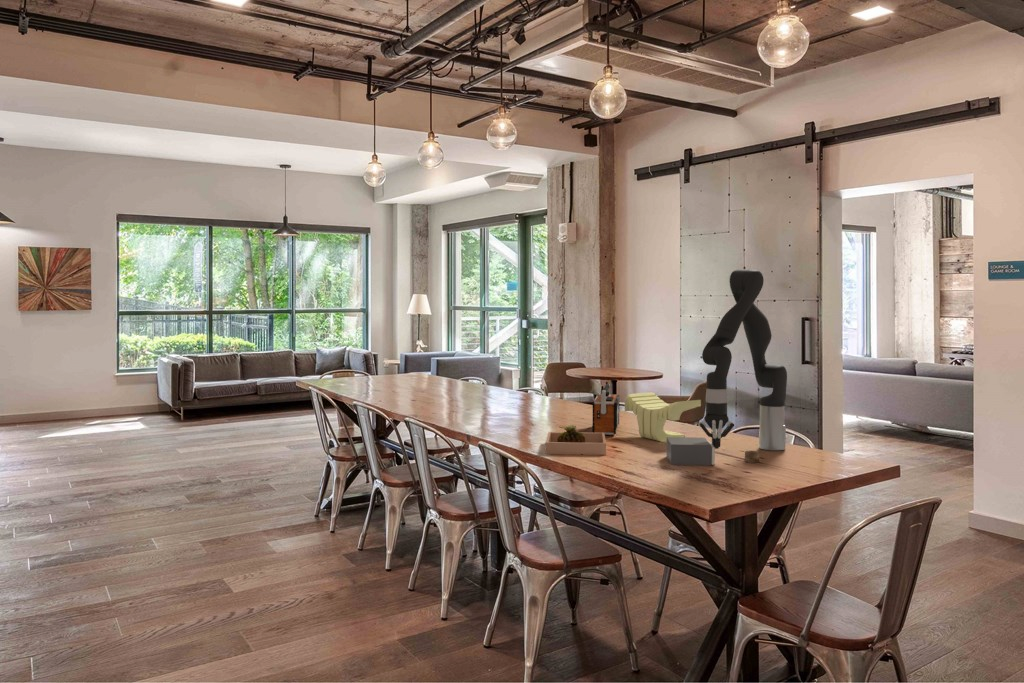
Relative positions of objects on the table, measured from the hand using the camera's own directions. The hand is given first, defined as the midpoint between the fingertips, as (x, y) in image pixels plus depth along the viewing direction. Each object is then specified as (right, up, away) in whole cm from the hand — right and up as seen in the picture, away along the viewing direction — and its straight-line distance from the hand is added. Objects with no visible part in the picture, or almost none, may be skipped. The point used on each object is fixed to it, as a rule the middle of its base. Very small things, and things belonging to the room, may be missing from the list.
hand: (716, 448), depth 273 cm
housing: (-10, -5, +1) cm, 11 cm away
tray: (-9, -5, +1) cm, 10 cm away
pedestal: (+13, -5, 0) cm, 14 cm away
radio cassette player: (-32, -2, +66) cm, 73 cm away
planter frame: (-49, -4, +25) cm, 55 cm away
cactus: (-51, -4, +25) cm, 57 cm away
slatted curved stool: (-11, -3, +47) cm, 48 cm away
